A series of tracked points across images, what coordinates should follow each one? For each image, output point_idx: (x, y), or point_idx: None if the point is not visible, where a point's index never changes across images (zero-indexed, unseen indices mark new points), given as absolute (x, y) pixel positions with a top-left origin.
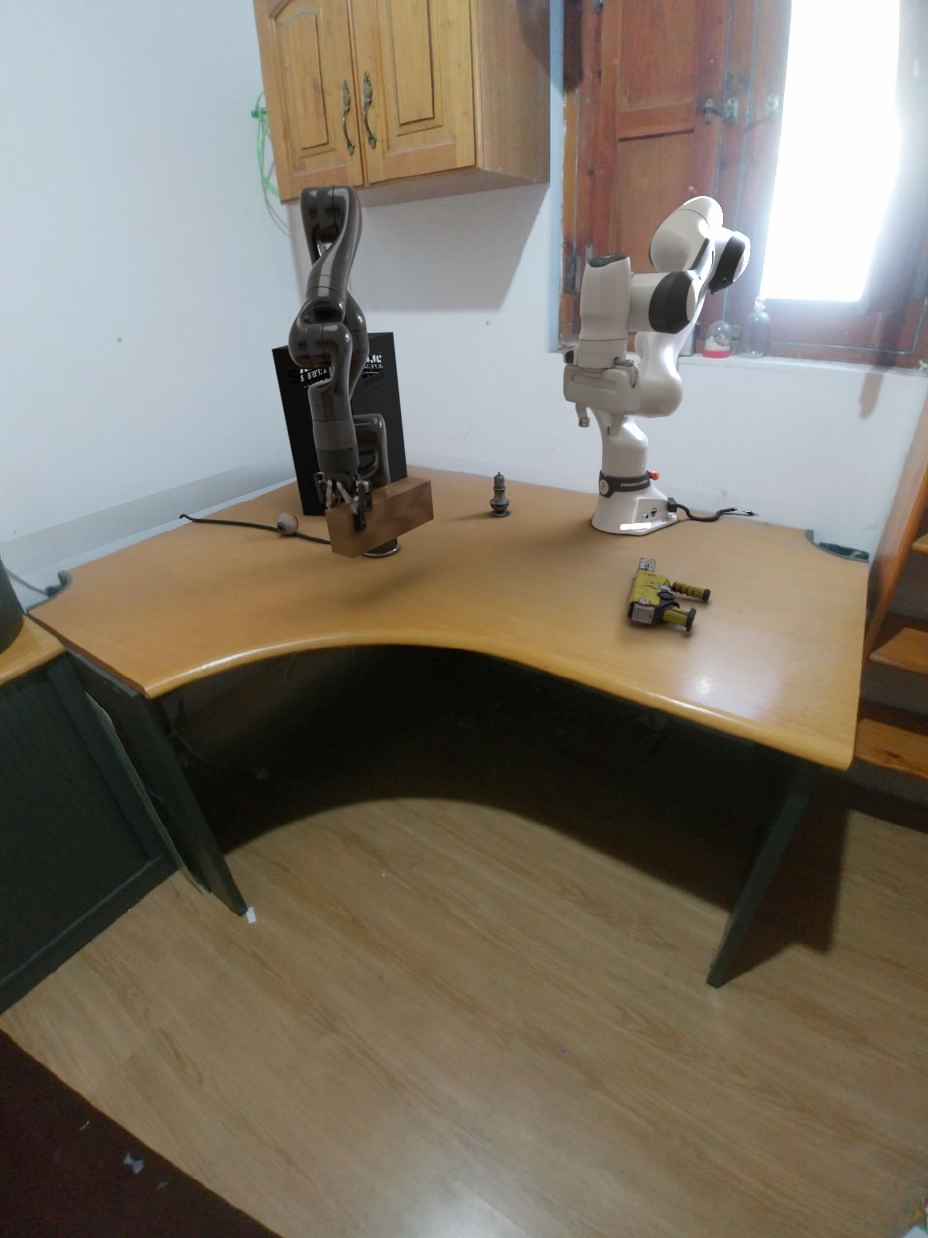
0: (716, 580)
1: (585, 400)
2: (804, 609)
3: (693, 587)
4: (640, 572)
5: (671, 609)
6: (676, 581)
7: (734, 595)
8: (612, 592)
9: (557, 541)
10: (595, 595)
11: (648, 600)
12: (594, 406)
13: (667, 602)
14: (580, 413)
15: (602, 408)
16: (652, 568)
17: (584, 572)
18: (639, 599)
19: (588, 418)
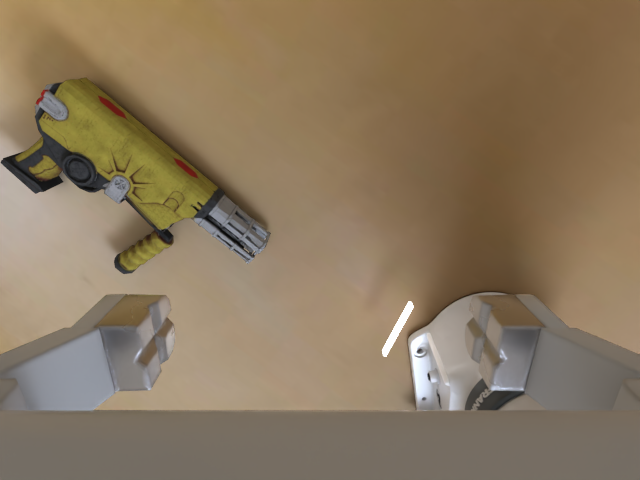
0: (191, 321)
1: (505, 467)
2: None
3: (138, 255)
4: (190, 193)
5: (43, 151)
6: (161, 242)
7: None
8: (227, 141)
9: (498, 187)
10: (230, 102)
11: (53, 117)
12: (248, 420)
13: (57, 156)
14: (582, 364)
15: (42, 419)
16: (213, 233)
17: (332, 146)
18: (64, 103)
19: (489, 375)
